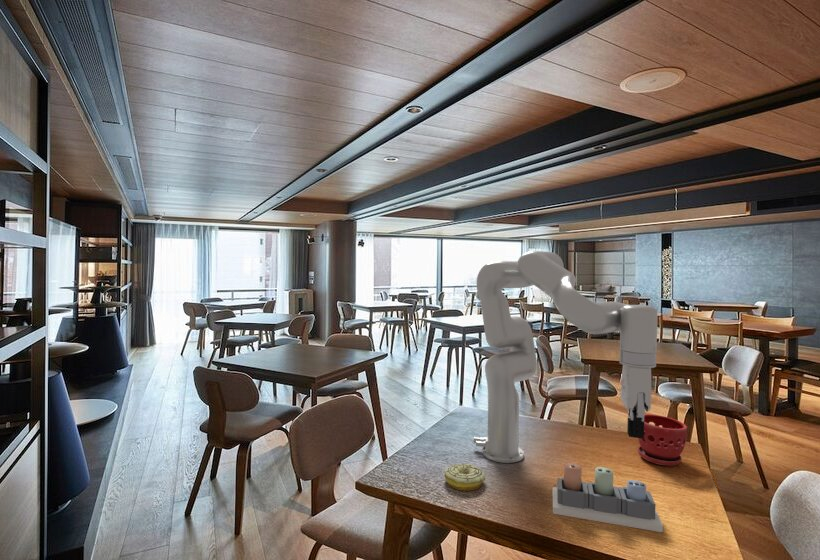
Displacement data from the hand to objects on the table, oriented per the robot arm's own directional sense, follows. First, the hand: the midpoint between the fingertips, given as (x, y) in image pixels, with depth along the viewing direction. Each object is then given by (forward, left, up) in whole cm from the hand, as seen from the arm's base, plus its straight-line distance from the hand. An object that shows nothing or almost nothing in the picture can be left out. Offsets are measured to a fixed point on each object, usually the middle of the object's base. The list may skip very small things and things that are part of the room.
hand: (635, 436), depth 101 cm
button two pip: (-7, 0, -14) cm, 16 cm away
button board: (-7, 0, -19) cm, 20 cm away
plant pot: (+13, +36, -19) cm, 43 cm away
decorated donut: (-40, +3, -19) cm, 45 cm away
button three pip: (0, 0, -16) cm, 16 cm away
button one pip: (-14, 0, -14) cm, 20 cm away
